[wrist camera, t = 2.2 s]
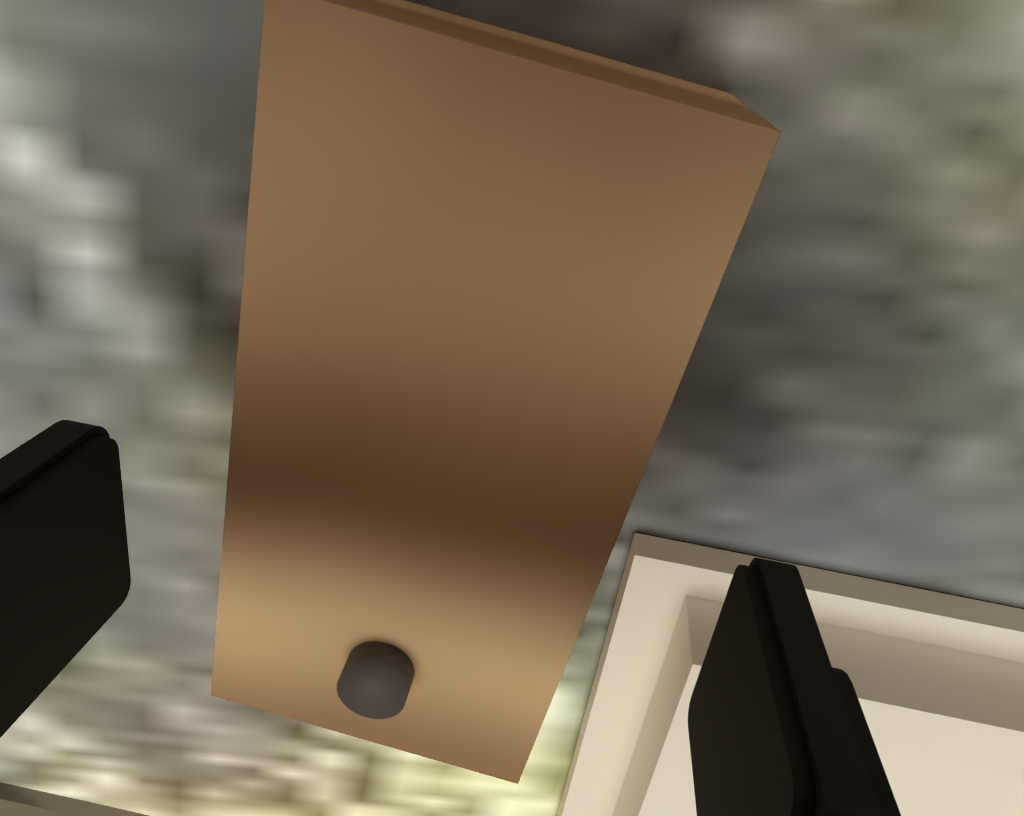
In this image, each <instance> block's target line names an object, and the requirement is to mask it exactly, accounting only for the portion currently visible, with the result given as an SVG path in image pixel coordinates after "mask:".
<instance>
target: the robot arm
mask: <svg viewBox="0 0 1024 816" xmlns="http://www.w3.org/2000/svg"><path fill="white" fill-rule="evenodd" d="M130 584H131V577H130V566H129V556H128V545H127V534H126V523H125V513H124V502H123V491H122V481H121V470H120V459H119V449H118V445H117V443H116V441H115V440H113V439H111V438H110V437H109V434H108V432H107V431H106V429H104V428H103V427H100V426H95V425H90V424H85V423H80V422H75V421H70V420H61V421H59V422H56V423H55V424H53V425H52V426H50V427H49V428H47V429H46V430H44V431H42V432H41V433H39V434H38V435H36V436H35V437H33V438H32V439H30V440H29V441H27V442H26V443H24V444H22V445H21V446H19V447H18V448H16V449H15V450H13V451H12V452H10V453H9V454H7V455H5V456H4V457H2V458H1V459H0V737H1V736H2V735H3V734H4V733H5V732H6V731H7V730H8V729H9V728H10V727H11V725H12V724H13V723H14V722H15V721H16V720H17V719H18V718H19V717H20V716H21V714H22V713H23V712H24V711H25V710H26V709H27V708H28V707H29V706H30V705H31V703H32V702H33V701H34V700H35V699H36V698H37V697H38V696H39V695H40V694H41V693H42V691H43V690H44V689H45V688H46V687H47V686H48V685H49V684H50V683H51V682H52V680H53V679H54V678H55V677H56V676H57V675H58V674H59V673H60V672H61V671H62V669H63V668H64V667H65V666H66V665H67V664H68V663H69V662H70V661H71V660H72V659H73V657H74V656H75V655H76V654H77V653H78V652H79V651H80V650H81V649H82V648H83V646H84V645H85V644H86V643H87V642H88V641H89V640H90V639H91V638H92V637H93V635H94V634H95V633H96V632H97V631H98V630H99V629H100V628H101V627H102V626H103V625H104V623H105V622H106V621H107V620H108V619H109V618H110V617H111V616H112V615H113V614H114V612H115V611H116V610H117V609H118V608H119V607H120V606H121V605H122V603H123V602H124V600H125V599H126V597H127V595H128V592H129V589H130ZM688 732H689V742H690V752H691V762H692V772H693V782H694V792H695V802H696V812H697V816H901V814H900V811H899V808H898V806H897V803H896V800H895V797H894V795H893V792H892V789H891V787H890V784H889V781H888V778H887V776H886V773H885V770H884V768H883V765H882V762H881V759H880V757H879V754H878V751H877V749H876V746H875V743H874V740H873V738H872V735H871V732H870V730H869V727H868V724H867V721H866V719H865V716H864V713H863V711H862V708H861V705H860V702H859V700H858V697H857V694H856V692H855V689H854V686H853V683H852V681H851V680H850V678H849V676H848V674H847V673H846V672H845V671H843V670H842V669H838V668H833V667H832V666H831V663H830V660H829V657H828V654H827V651H826V648H825V645H824V643H823V640H822V637H821V634H820V631H819V628H818V625H817V622H816V619H815V616H814V614H813V611H812V608H811V605H810V602H809V599H808V596H807V593H806V590H805V588H804V585H803V582H802V579H801V576H800V573H799V570H798V569H797V567H796V566H795V565H792V564H787V563H782V562H777V561H772V560H767V559H762V558H757V557H756V558H754V559H753V560H752V561H751V562H750V565H749V566H746V565H741V564H740V565H738V566H737V568H736V569H735V572H734V574H733V577H732V580H731V583H730V586H729V589H728V592H727V595H726V598H725V600H724V603H723V606H722V609H721V612H720V615H719V618H718V621H717V624H716V626H715V629H714V632H713V635H712V638H711V641H710V644H709V647H708V650H707V652H706V655H705V658H704V661H703V664H702V667H701V670H700V673H699V676H698V678H697V681H696V684H695V687H694V690H693V693H692V696H691V699H690V703H689V710H688ZM0 816H148V815H144V814H140V813H135V812H131V811H126V810H122V809H118V808H113V807H109V806H104V805H100V804H95V803H91V802H86V801H82V800H77V799H73V798H68V797H64V796H59V795H55V794H50V793H46V792H41V791H37V790H32V789H28V788H23V787H19V786H14V785H10V784H5V783H1V782H0Z"/></svg>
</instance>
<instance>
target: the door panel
mask: <svg viewBox="0 0 1024 816" xmlns="http://www.w3.org/2000/svg"><path fill="white" fill-rule="evenodd" d="M780 134H781V131H779V130H778V129H777V128H775V127H774V126H773V125H771V124H770V123H769V122H767V121H766V120H765V119H763V118H762V117H761V116H759V115H758V114H757V113H755V112H754V111H753V110H752V109H750V108H749V107H748V106H746V105H745V104H744V103H742V102H741V101H740V100H738V99H737V98H736V97H734V96H733V95H732V94H730V93H728V92H724V91H721V90H717V89H714V88H710V87H707V86H703V85H700V84H696V83H693V82H689V81H686V80H682V79H679V78H675V77H672V76H668V75H665V74H661V73H658V72H654V71H651V70H647V69H644V68H640V67H637V66H633V65H630V64H626V63H623V62H619V61H616V60H612V59H609V58H605V57H602V56H598V55H595V54H591V53H588V52H584V51H581V50H577V49H574V48H570V47H567V46H563V45H560V44H556V43H553V42H549V41H546V40H542V39H539V38H535V37H532V36H528V35H525V34H522V33H518V32H515V31H511V30H508V29H504V28H501V27H497V26H494V25H490V24H487V23H483V22H480V21H476V20H473V19H469V18H466V17H462V16H459V15H455V14H452V13H448V12H445V11H441V10H438V9H434V8H431V7H427V6H424V5H420V4H417V3H413V2H410V1H406V0H264V12H263V25H262V38H261V51H260V64H259V77H258V90H257V103H256V116H255V129H254V142H253V155H252V168H251V181H250V194H249V207H248V220H247V233H246V246H245V259H244V272H243V285H242V298H241V311H240V324H239V337H238V350H237V363H236V376H235V389H234V402H233V415H232V428H231V441H230V454H229V467H228V480H227V493H226V506H225V519H224V532H223V545H222V558H221V571H220V584H219V597H218V610H217V623H216V636H215V649H214V662H213V675H212V688H211V695H212V696H215V697H219V698H222V699H226V700H229V701H233V702H236V703H240V704H243V705H246V706H250V707H253V708H257V709H260V710H264V711H267V712H271V713H274V714H278V715H281V716H285V717H288V718H292V719H295V720H299V721H302V722H305V723H309V724H312V725H316V726H319V727H323V728H326V729H330V730H333V731H337V732H340V733H344V734H347V735H351V736H354V737H357V738H361V739H364V740H368V741H371V742H375V743H378V744H382V745H385V746H389V747H392V748H396V749H399V750H403V751H406V752H409V753H413V754H416V755H420V756H423V757H427V758H430V759H434V760H437V761H441V762H444V763H448V764H451V765H455V766H458V767H461V768H465V769H468V770H472V771H475V772H479V773H482V774H486V775H489V776H493V777H496V778H500V779H503V780H507V781H510V782H513V783H517V784H518V782H519V780H520V777H521V775H522V772H523V770H524V767H525V765H526V762H527V760H528V757H529V755H530V752H531V750H532V747H533V745H534V743H535V740H536V738H537V735H538V733H539V730H540V728H541V725H542V723H543V720H544V718H545V715H546V713H547V710H548V708H549V705H550V703H551V700H552V698H553V695H554V693H555V691H556V688H557V686H558V683H559V681H560V678H561V676H562V673H563V671H564V668H565V666H566V663H567V661H568V658H569V656H570V653H571V651H572V648H573V646H574V643H575V641H576V639H577V636H578V634H579V631H580V629H581V626H582V624H583V621H584V619H585V616H586V614H587V611H588V609H589V606H590V604H591V601H592V599H593V596H594V594H595V592H596V589H597V587H598V584H599V582H600V579H601V577H602V574H603V572H604V569H605V567H606V564H607V562H608V559H609V557H610V554H611V552H612V549H613V547H614V544H615V542H616V540H617V537H618V535H619V532H620V530H621V527H622V525H623V522H624V520H625V517H626V515H627V512H628V510H629V507H630V505H631V502H632V500H633V497H634V495H635V492H636V490H637V488H638V485H639V483H640V480H641V478H642V475H643V473H644V470H645V468H646V465H647V463H648V460H649V458H650V455H651V453H652V450H653V448H654V445H655V443H656V440H657V438H658V436H659V433H660V431H661V428H662V426H663V423H664V421H665V418H666V416H667V413H668V411H669V408H670V406H671V403H672V401H673V398H674V396H675V393H676V391H677V389H678V386H679V384H680V381H681V379H682V376H683V374H684V371H685V369H686V366H687V364H688V361H689V359H690V356H691V354H692V351H693V349H694V346H695V344H696V341H697V339H698V337H699V334H700V332H701V329H702V327H703V324H704V322H705V319H706V317H707V314H708V312H709V309H710V307H711V304H712V302H713V299H714V297H715V294H716V292H717V289H718V287H719V285H720V282H721V280H722V277H723V275H724V272H725V270H726V267H727V265H728V262H729V260H730V257H731V255H732V252H733V250H734V247H735V245H736V242H737V240H738V237H739V235H740V233H741V230H742V228H743V225H744V223H745V220H746V218H747V215H748V213H749V210H750V208H751V205H752V203H753V200H754V198H755V195H756V193H757V190H758V188H759V186H760V183H761V181H762V178H763V176H764V173H765V171H766V168H767V166H768V163H769V161H770V158H771V156H772V153H773V151H774V148H775V146H776V143H777V141H778V138H779V136H780Z"/></svg>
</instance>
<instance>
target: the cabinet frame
mask: <svg viewBox="0 0 1024 816" xmlns="http://www.w3.org/2000/svg"><path fill="white" fill-rule="evenodd" d="M754 558H756V556H751V555H746V554H741V553H736V552H731V551H725V550H720V549H715V548H710V547H705V546H700V545H695V544H690V543H685V542H680V541H675V540H670V539H665V538H660V537H654V536H649V535H644V534H639V533H634V536H633V540H632V543H631V547H630V550H629V554H628V558H627V561H626V565H625V569H624V572H623V576H622V580H621V583H620V587H619V590H618V594H617V598H616V601H615V605H614V609H613V612H612V616H611V620H610V623H609V627H608V630H607V634H606V638H605V641H604V645H603V649H602V652H601V656H600V660H599V663H598V667H597V670H596V674H595V678H594V681H593V685H592V689H591V692H590V696H589V700H588V703H587V707H586V711H585V714H584V718H583V721H582V725H581V729H580V732H579V736H578V740H577V743H576V747H575V751H574V754H573V758H572V761H571V765H570V769H569V772H568V776H567V780H566V783H565V787H564V791H563V794H562V798H561V801H560V805H559V809H558V812H557V816H697V812H696V802H695V792H694V782H693V772H692V762H691V752H690V742H689V732H688V710H689V703H690V699H691V696H692V693H693V690H694V687H695V684H696V681H697V678H698V676H699V673H700V670H701V667H702V664H703V661H704V658H705V655H706V652H707V650H708V647H709V644H710V641H711V638H712V635H713V632H714V629H715V626H716V624H717V621H718V618H719V615H720V612H721V609H722V606H723V603H724V600H725V598H726V595H727V592H728V589H729V586H730V583H731V580H732V577H733V574H734V572H735V569H736V568H737V566H738V565H740V564H741V565H746V566H749V565H750V562H751V561H752V560H753V559H754ZM757 558H761V557H757ZM762 559H766V558H762ZM767 560H771V559H767ZM772 561H776V560H772ZM777 562H781V561H777ZM782 563H786V562H782ZM787 564H791V563H787ZM792 565H795V566H796V567H797V569H798V570H799V573H800V576H801V579H802V582H803V585H804V588H805V590H806V593H807V596H808V599H809V602H810V605H811V608H812V611H813V614H814V616H815V619H816V622H817V625H818V628H819V631H820V634H821V637H822V640H823V643H824V645H825V648H826V651H827V654H828V657H829V660H830V663H831V666H832V667H833V668H838V669H842V670H843V671H845V672H846V673H847V674H848V676H849V678H850V680H851V681H852V683H853V686H854V689H855V692H856V694H857V697H858V700H859V702H860V705H861V708H862V711H863V713H864V716H865V719H866V721H867V724H868V727H869V730H870V732H871V735H872V738H873V740H874V743H875V746H876V749H877V751H878V754H879V757H880V759H881V762H882V765H883V768H884V770H885V773H886V776H887V778H888V781H889V784H890V787H891V789H892V792H893V795H894V797H895V800H896V803H897V806H898V808H899V811H900V814H901V816H1024V609H1020V608H1015V607H1010V606H1005V605H999V604H994V603H989V602H984V601H979V600H974V599H969V598H964V597H959V596H954V595H949V594H944V593H939V592H934V591H928V590H923V589H918V588H913V587H908V586H903V585H898V584H893V583H888V582H883V581H878V580H873V579H868V578H862V577H857V576H852V575H847V574H842V573H837V572H832V571H827V570H822V569H817V568H812V567H807V566H802V565H797V564H792Z"/></svg>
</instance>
